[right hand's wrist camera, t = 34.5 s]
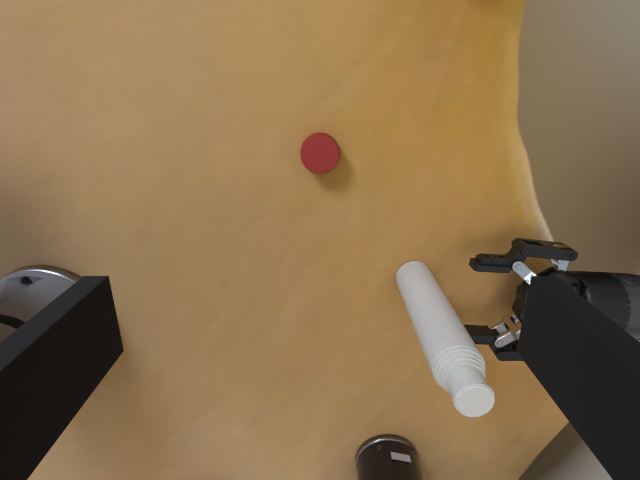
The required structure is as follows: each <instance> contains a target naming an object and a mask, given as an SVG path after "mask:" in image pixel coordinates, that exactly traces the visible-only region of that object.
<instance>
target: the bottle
mask: <svg viewBox="0 0 640 480" xmlns="http://www.w3.org/2000/svg"><path fill="white" fill-rule="evenodd" d="M396 283H397V286H398V288H399V291H400V293H401V296H402V298H403V301H404V303H405V306H406V308H407V311H408V314H409V316H410V319H411V321H412V324H413V326H414V329H415V331H416V334H417V336H418V339H419V341H420V344H421V347H422V349H423V352H424V354H425V357H426V359H427V362H428V364H429V367H430V369H431V372H432V374H433V377H434V379H435V380H436V381H437V383H438V384H439V385H440V386H441V387H442V388H444V389H445V390H446V391H447V392H448V393H450V394H451V396H452V399H453V404H454V406H455V408H456V409H457V410H458V411H459V412H460V413H461V414H462V415H464V416H467V417H479V416H482V415H484V414H486V413H488V412H489V411H490V410H491V409H492V407H493V406H494V403H495V394H494V392H493V390H492V389H491V388H490V387H489V385H488V383H487V382H486V373H485V372H486V370H485V369H486V367H485V362H484V359H483V356H482V355H481V353H480V351H479V350H478V348H477V346H476V345H475V343H474V341H473V340H472V338H471V337H470V335H469V333H468V332H467V330H466V328H465V327H464V325H463V323H462V322H461V320H460V318H459V317H458V315H457V313H456V312H455V310H454V309H453V307H452V305H451V304H450V302H449V300H448V299H447V297H446V295H445V294H444V292H443V290H442V289H441V287H440V286H439V284H438V282H437V281H436V279H435V277H434V276H433V274H432V272H431V271H430V269H429V268H428V266H427V265H426V264H424V263H422V262H419V261H410V262H407V263H405V264H403V265H402V266H401V267H400V268H399V269H398V271H397V273H396Z"/></svg>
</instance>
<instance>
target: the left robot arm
mask: <svg viewBox="0 0 640 480" xmlns="http://www.w3.org/2000/svg"><path fill="white" fill-rule="evenodd" d="M577 256H578V253H577V252H576V251H574V250H573V249H571V248H570V247H568V246H566V245H565V244H563V243H559V242H550V241H541V240H531V239H522V238H516V239H514V240H513V241H512V248H511V250H510V251H509V252H508V253H507V254H504V255H499V254H478V255H476V258H470V262H469V265H470V266H471V268H472V269H473V270H475V271H478V272H497V273H509V272H510V270H514V271H515V272H516V273H517V274H518V275H519V276H520V277H522V278H523V279H524V280H525V281H524V282H522V284H521V285H518V287H517V291H516V293H517V298H516V300H515V302H514V303H513V307H512V310H513V311H514V312H512V313H510V314H508V315H506V316H504V317H503V318H502V321H501V322H499V323H497V324H495V325H494V326H492V327H490V328H489V327H488V326H479V325H464V327H465V328H466V330H467V332H468V333H469V335H470V337H471V338H472V340H473V341H474V343H475V344H487V345H489V347H490V348H491V350H492V351H493V353H494V354H495V356H496V357H497V359H498V360H500V361H524V360H523V359H522V358H521V356H520V355H519V354H518V352H517V351H516V350H517V345H518V340H519V335H520V330H521V327H517V326H516V325H515V324H516V323H517V322H519V321H520V322H521V323H522V321H523V316H524V311H525V306H526V301H527V296H528V291H529V286H530V281H531V276H557V277H558V278H559V279H560V280H562V281H563V282H564V283H566V284H567V285H568V286H569V287H571V288H572V289H573V290H574V291H576V292H577V293H578V294H579V295H581V296H582V297H583V298H584V299H586V300H587V301H588V302H589V303H591V304H592V305H593V306H595V307H596V308H597V309H598V310H600V311H601V312H602V313H603V314H605V315H606V316H607V317H608V318H610V319H611V320H612V321H613V322H615V323H616V324H617V325H618V326H620V327H621V328H622V329H624V330H625V331H626V332H627V333H629V334H630V335H631V336H632V337H634V338H635V339H636V340H640V276H639V275H634V274H626V273H606V272H586V271H566V270H567V267H568V264H569V261H574V260H575V259H576V258H577ZM527 257H536V258H545V259H547V260H548V261H550V262H551V263H553V264H554V266H553V267H549V268H547V269H546V270H544V271H542V272H540V273H538V274H535V273H533V272H532V271H531V270H530V269H529V268H528V267H527V266H526V265H525V264H524V263H523V262H524V261H525V259H526V258H527ZM504 332H505V333H504ZM502 333H503V334H502ZM500 334H501V335H500ZM355 461H356V469H357V475H358V480H423V476H422V472H421V468H420V465H419V458H418V454H417V451H416V449H415V447H414V446H413V445H412V444H411V443H410V442H409V441H408V440H406V439H404V438H401V437H398V436H393V435H384V436H378V437H375V438H372V439H370V440H368V441H367V442H365V443H364V444H363V445H362V446H361V447H360V448H359V450H358V451H357V454H356V458H355Z"/></svg>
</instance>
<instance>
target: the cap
mask: <svg viewBox="0 0 640 480" xmlns="http://www.w3.org/2000/svg"><path fill="white" fill-rule="evenodd" d="M301 159H302V162H303V164H304V166H305V167H306V168H307V169H308V170H310V171H312V172H314V173H326V172H328V171H330V170H332V169H333V168H334V167H335V165H336V164H337V162H338V159H339V149H338V146H337V143H336V141H335V140H334V139H333V138H332V137H331V136H329V135H327V134H325V133H315V134H313V135H311V136H309V137H308V138H307V139H306V140H305V141H304V143H303V145H302V149H301Z"/></svg>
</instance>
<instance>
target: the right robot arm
mask: <svg viewBox="0 0 640 480" xmlns="http://www.w3.org/2000/svg"><path fill="white" fill-rule="evenodd" d="M123 351H124V350H123V345H122V340H121V335H120V330H119V326H118V321H117V316H116V311H115V306H114V301H113V296H112V291H111V286H110V281H109V276H83V277H82V278H81V277H80V276H78V275H76V274H74V273H72V272H69V271H67V270H64V269H61V268H57V267H53V266H45V265H36V266H28V267H24V268H20V269H18V270H16V271H14V272H12V273H10V274H8V275H7V276H5V277H3V278H2V279H1V280H0V480H27V479H28V478H29V476H30V475H31V474H32V472H33V471H34V470H35V468H36V467H37V466H38V464H39V463H40V462H41V460H42V459H43V458H44V456H45V455H46V454H47V452H48V451H49V450H50V448H51V447H52V446H53V444H54V443H55V442H56V440H57V439H58V438H59V436H60V435H61V434H62V432H63V431H64V430H65V428H66V427H67V426H68V424H69V423H70V422H71V420H72V419H73V418H74V416H75V415H76V414H77V412H78V411H79V410H80V408H81V407H82V406H83V404H84V403H85V402H86V400H87V399H88V398H89V396H90V395H91V394H92V392H93V391H94V390H95V388H96V387H97V386H98V384H99V383H100V382H101V380H102V379H103V378H104V376H105V375H106V374H107V372H108V371H109V370H110V368H111V367H112V366H113V364H114V363H115V362H116V360H117V359H118V358H119V356H120V355H121V354H122V352H123ZM516 351H517V352H518V354H519V355H520V356H521V358H522V359H523V360H524V362H525V363H526V364H527V366H528V367H529V368H530V370H531V371H532V372H533V374H534V375H535V376H536V378H537V379H538V380H539V382H540V383H541V384H542V386H543V387H544V388H545V390H546V391H547V392H548V394H549V395H550V396H551V398H552V399H553V400H554V402H555V403H556V404H557V406H558V407H559V408H560V410H561V411H562V412H563V414H564V415H565V416H566V418H567V419H568V420H569V422H570V423H571V424H572V426H573V427H574V428H575V430H576V431H577V432H578V434H579V435H580V436H581V438H582V439H583V440H584V442H585V443H586V444H587V446H588V447H589V448H590V450H591V451H592V452H593V454H594V455H595V456H596V458H597V459H598V460H599V462H600V463H601V464H602V466H603V467H604V468H605V470H606V471H607V472H608V474H609V475H610V476H611V478H612V479H613V480H640V342H639V341H637V340H636V339H635V338H634V337H632V336H631V335H630V334H629V333H627V332H626V331H625V330H624V329H622V328H621V327H620V326H618V325H617V324H616V323H615V322H613V321H612V320H611V319H610V318H608V317H607V316H606V315H605V314H603V313H602V312H601V311H600V310H598V309H597V308H596V307H595V306H593V305H592V304H591V303H589V302H588V301H587V300H586V299H584V298H583V297H582V296H581V295H579V294H578V293H577V292H576V291H574V290H573V289H572V288H571V287H569V286H568V285H567V284H566V283H564V282H563V281H562V280H560V279H559V278H558V277H557V276H531V281H530V286H529V291H528V296H527V301H526V306H525V311H524V316H523V321H522V326H521V330H520V335H519V340H518V345H517V350H516Z"/></svg>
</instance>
